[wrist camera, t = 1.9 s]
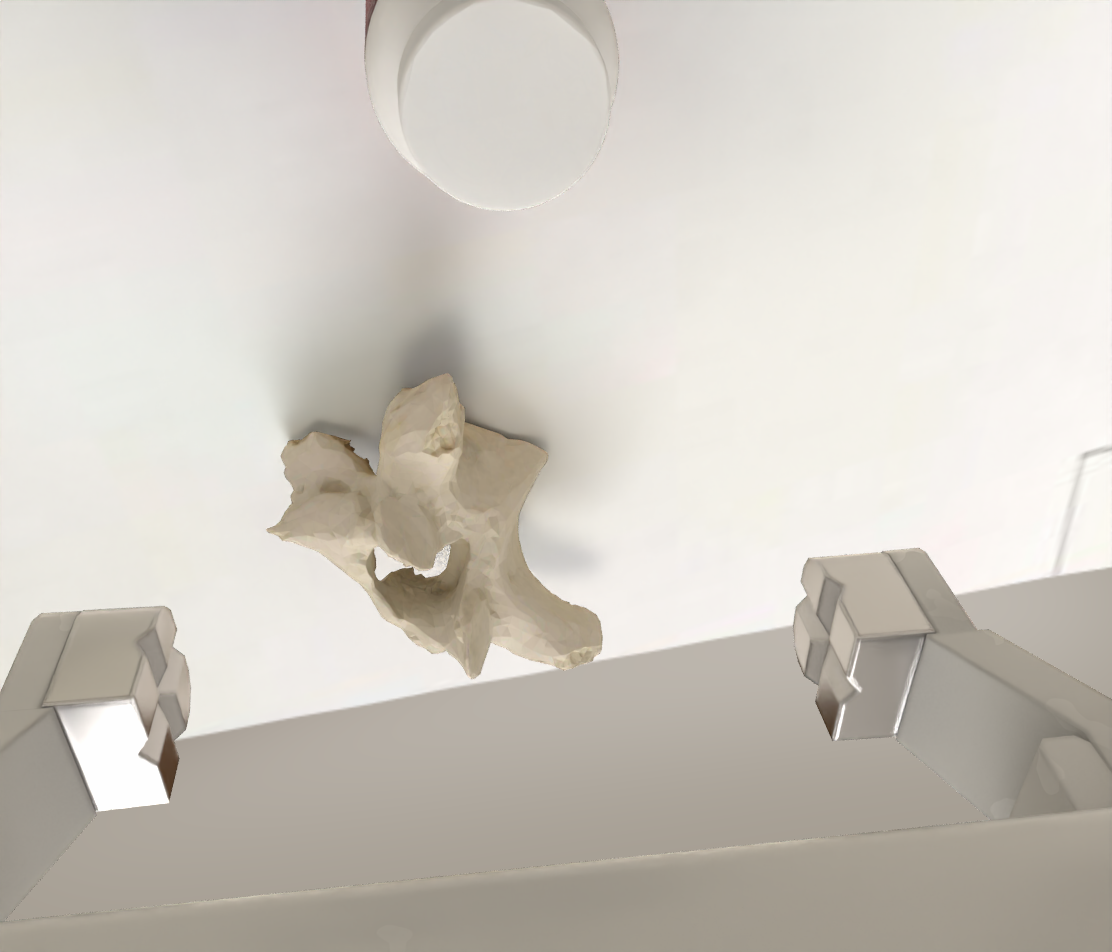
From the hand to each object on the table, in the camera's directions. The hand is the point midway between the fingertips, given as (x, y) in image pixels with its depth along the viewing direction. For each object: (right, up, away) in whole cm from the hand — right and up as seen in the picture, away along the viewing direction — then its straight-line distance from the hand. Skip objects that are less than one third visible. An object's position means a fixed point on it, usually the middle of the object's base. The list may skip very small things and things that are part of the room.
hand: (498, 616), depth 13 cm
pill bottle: (-2, +16, +18) cm, 24 cm away
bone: (-4, +3, +28) cm, 28 cm away
